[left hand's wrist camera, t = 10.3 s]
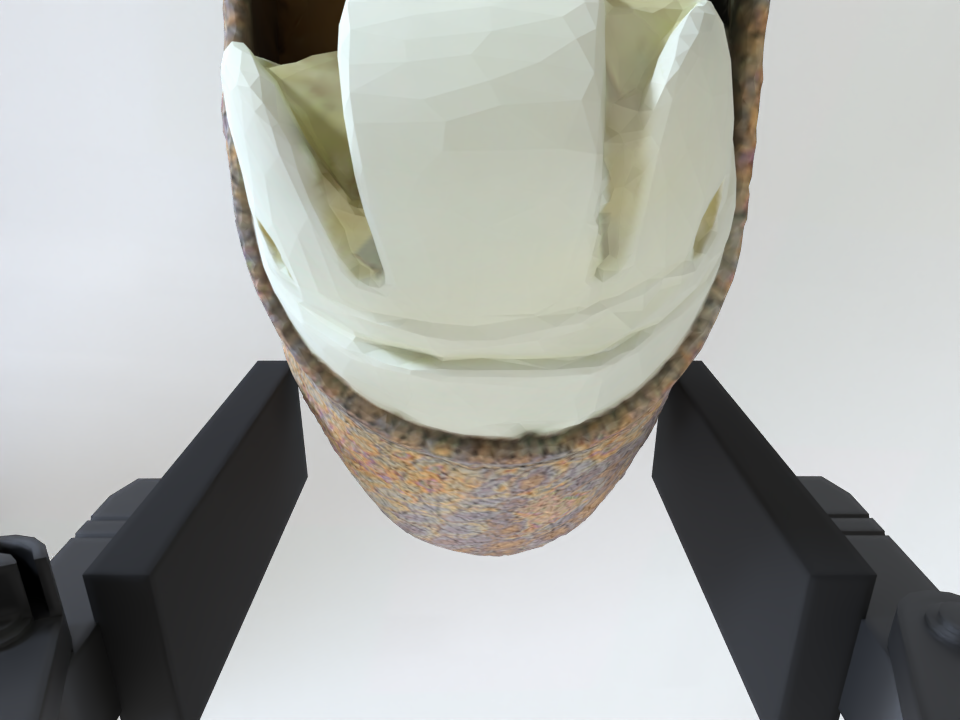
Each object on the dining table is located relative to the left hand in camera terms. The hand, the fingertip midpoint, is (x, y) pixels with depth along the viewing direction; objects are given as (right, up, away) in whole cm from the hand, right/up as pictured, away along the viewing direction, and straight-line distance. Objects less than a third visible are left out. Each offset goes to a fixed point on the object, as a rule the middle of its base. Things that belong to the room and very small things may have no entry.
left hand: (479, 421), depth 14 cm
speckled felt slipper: (0, +9, -3) cm, 9 cm away
